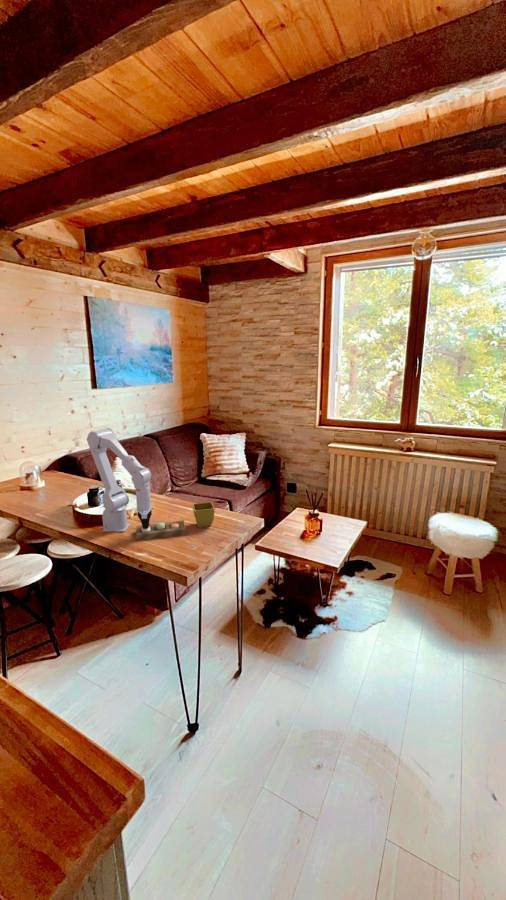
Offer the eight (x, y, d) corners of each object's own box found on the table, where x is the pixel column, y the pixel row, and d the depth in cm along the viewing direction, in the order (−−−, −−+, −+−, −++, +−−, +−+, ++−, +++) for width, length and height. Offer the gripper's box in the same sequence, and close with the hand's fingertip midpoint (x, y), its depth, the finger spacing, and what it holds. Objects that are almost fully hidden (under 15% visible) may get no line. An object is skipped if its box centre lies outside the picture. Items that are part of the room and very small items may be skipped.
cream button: (141, 536, 157) (141, 530, 157) (142, 532, 161) (141, 527, 160) (150, 535, 158) (150, 529, 158) (150, 531, 162) (150, 526, 161)
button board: (136, 540, 154) (135, 535, 154) (136, 531, 163) (136, 525, 162) (185, 534, 159) (185, 529, 159) (183, 525, 168) (183, 520, 167)
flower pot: (195, 530, 164) (194, 510, 162) (193, 522, 172) (192, 503, 170) (215, 527, 166) (214, 508, 164) (212, 519, 174) (211, 501, 172)
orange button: (171, 532, 160) (170, 527, 160) (170, 529, 164) (170, 523, 163) (179, 531, 161) (179, 526, 161) (179, 528, 165) (178, 523, 164)
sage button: (156, 532, 159) (156, 526, 158) (156, 528, 162) (155, 523, 161) (165, 531, 160) (164, 525, 159) (164, 527, 163) (164, 522, 162)
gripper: (153, 502, 150) (155, 534, 153) (153, 491, 164) (155, 520, 167) (135, 504, 148) (137, 536, 151) (136, 492, 162) (138, 521, 165)
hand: (145, 528), depth 159 cm, fingers closed
